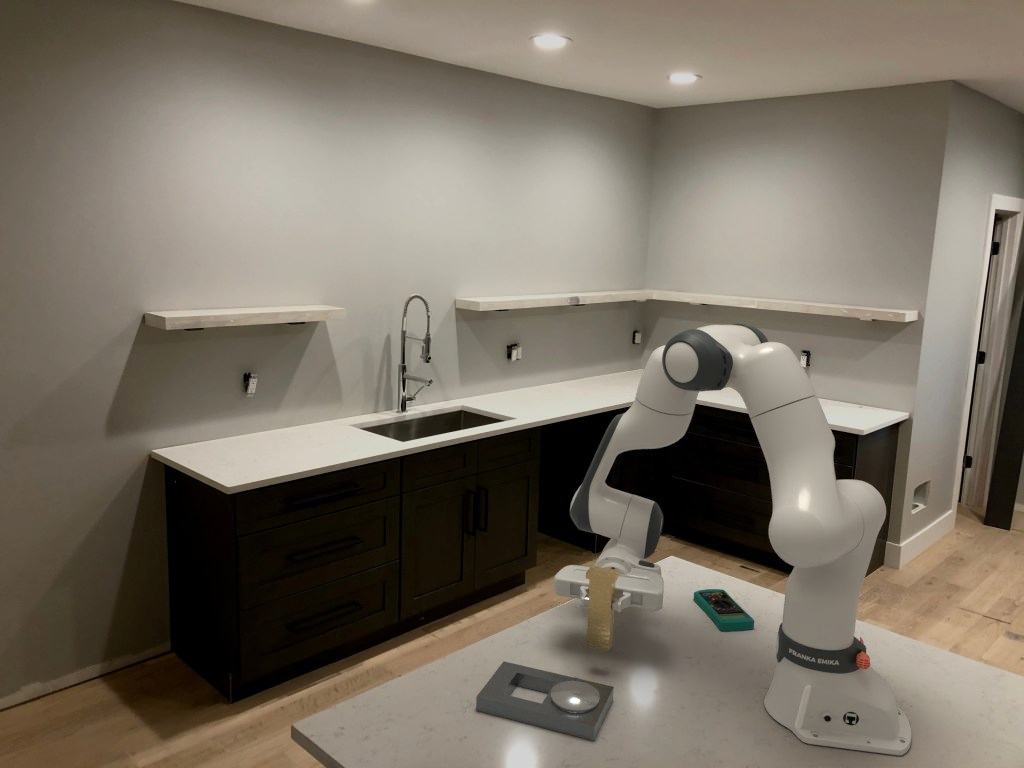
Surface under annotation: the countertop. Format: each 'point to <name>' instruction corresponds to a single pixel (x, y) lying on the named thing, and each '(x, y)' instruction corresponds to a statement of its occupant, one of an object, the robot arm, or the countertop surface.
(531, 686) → the gray socket block
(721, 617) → the digital multimeter
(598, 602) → the wedge pin
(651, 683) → the countertop surface
